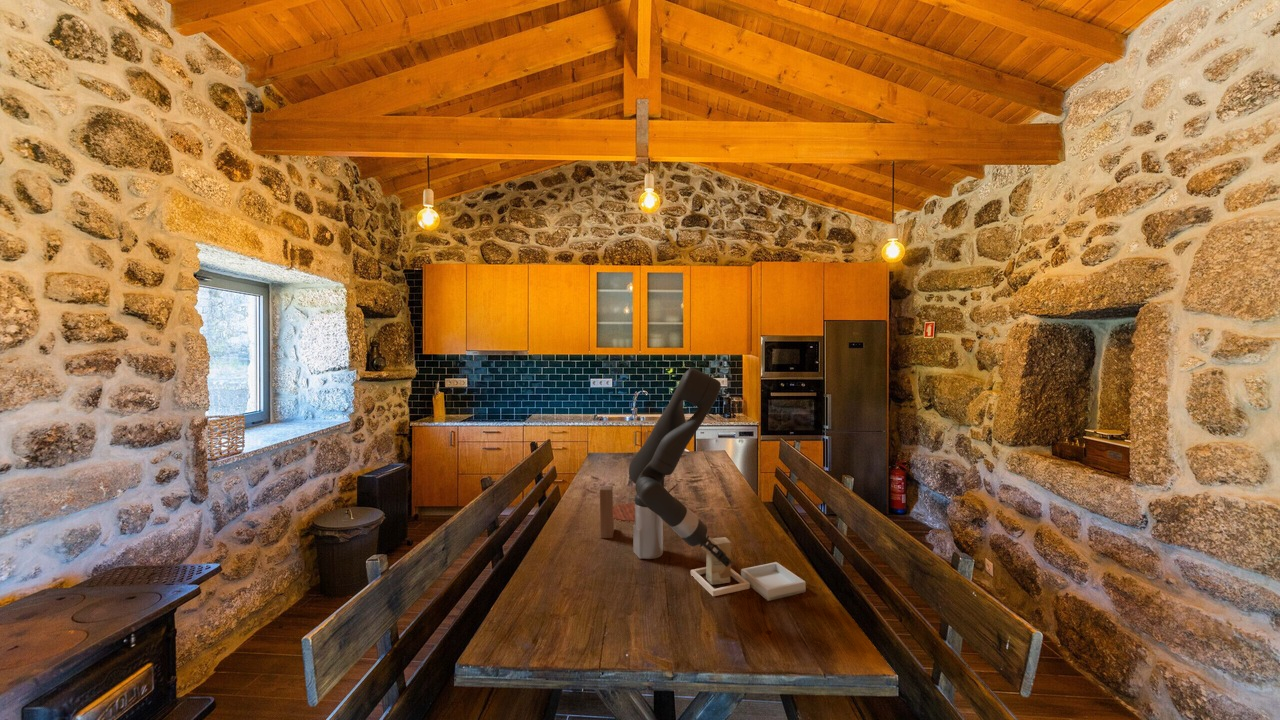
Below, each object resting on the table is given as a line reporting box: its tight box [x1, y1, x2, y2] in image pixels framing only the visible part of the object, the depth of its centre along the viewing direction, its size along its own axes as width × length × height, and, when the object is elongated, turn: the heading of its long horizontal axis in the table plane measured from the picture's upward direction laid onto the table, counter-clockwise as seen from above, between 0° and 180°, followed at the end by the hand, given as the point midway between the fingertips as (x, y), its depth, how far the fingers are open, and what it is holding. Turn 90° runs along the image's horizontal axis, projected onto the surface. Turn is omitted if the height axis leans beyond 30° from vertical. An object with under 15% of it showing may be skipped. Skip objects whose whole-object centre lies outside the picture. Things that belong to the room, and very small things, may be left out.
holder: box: [690, 566, 751, 597], centre depth 149 cm, size 12×14×2 cm
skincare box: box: [705, 536, 732, 586], centre depth 148 cm, size 6×4×12 cm
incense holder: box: [613, 483, 678, 523], centre depth 209 cm, size 21×30×11 cm
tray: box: [740, 561, 807, 602], centre depth 146 cm, size 13×14×3 cm
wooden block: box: [599, 485, 615, 539], centre depth 186 cm, size 9×4×18 cm, turn 1°
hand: (724, 559), depth 149 cm, fingers closed on skincare box, 4 cm apart
